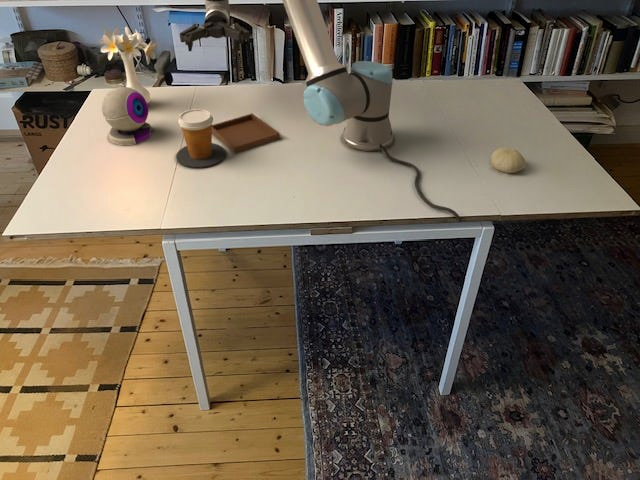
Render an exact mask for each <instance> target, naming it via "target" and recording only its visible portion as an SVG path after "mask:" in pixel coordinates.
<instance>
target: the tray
mask: <svg viewBox="0 0 640 480" xmlns="http://www.w3.org/2000/svg"><path fill="white" fill-rule="evenodd" d="M280 133H281V132H279V131H277V130H276V129H274V127H272V126H270V125H269V124H268V123H266V122H265V121H263V120H262V119H261V118H259V117H258V116H256V115H255V114H254V113H249V114H245V115H242V116H238V117H234V118H231V119H228V120H225V121H221V122H218V123H214V124H212V136H214V137H215V139H217V140H218V141H220V142H221V143H222V144H223V145H224V146H225V147H227V148H228V149H229V150H230V151H232V152H233V153H234V154H237V153H241V152H243V151H247V150H250V149H252V148H253V149H254V148H256V147H258V146H262V145H266V144H268V143H272V142H275V141H278V140H280V139H281V135H280Z"/></svg>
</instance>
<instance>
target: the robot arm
mask: <svg viewBox="0 0 640 480" xmlns="http://www.w3.org/2000/svg"><path fill="white" fill-rule="evenodd" d="M204 3H205V5H204V6H205V17H204V22H203V24H202V25H201V26H199V25H198V24H197V23H193V24H192V25H191V26H190V27H187V28H186V29H184V30H182V31H181V32H179V39H180V43H184V44H185V46H187V49H188V52H192V50H193V47H194V42H195V41H199V40H200V39H207V38H214V39H221V38H226V39H227V38H230V39H232V40H235V42H236V51H240V50H241V44H244V41H250V39H251V38H250V30H248V29H246V28H244V27H243V26H241V25H240V24H239V23H238V22H234V23H233V24H232V25H230V17H231V6H230V1H229V0H204ZM282 3H283V6H284V9H285V12H286V14H287V17H288V20H289V22H290V25H291V28H292V31H293V34H294V37H295V40H296V42H297V45H298V48H299V51H300V53H301V56H302V59H303V62H304V64H305V68H306V71H307V73H308V74H307V77H306V79H305V84H306V88H305V90H304V92H303V105H304V108H305V110H306V112H307V114H308V115H309V117H310V118H311V119H312V120H313V121H314V122H315V123H317V124H319V125H320V126H323V127H330V126H335V125H338V124H342V122H346V125H345V127H344V128H343V131H342V141H343V143H344V144H345V145H346V146H347V147H349V148H351V149H353V150H357V151H362V152H376V151H382V152H383V153H384V155H385V156H386V157H387V158H388V159H389V160H390V161H392V162H395V163H398V164H400V165H404V166H407V167H410V168H412V169H413V170H414V171H415V172H416V173H415V174H416V175H415V178H414V187H415V190H416V192H417V194H418V196H419V197H420V198H421V200H422V201H423V202H424V203H426V204H427V205H428V206H430V208H433V209H435V210H440V211H445V212H448V213H450V214H452V215H453V216H454V217H455V218H456V220H457V221H458V222H462V218H461V217H460V215H459V214H458V213H457V212H456V211H455V210H454V209H452V208H450V207H446V206H441V205H438V204H435V203H432V202H431V201H430V200H428V199H427V197H425V196H424V194H423V192H422V191H421V189H420V186H419V180H420V179H419V178H420V170H419V168H418V167H417V166H416V165H415V164H413V163H411V162H408V161H404V160H400V159H397V158H395V157H393V156H391V155H390V153H389V152H388V150H387V148H389V147H390V146H391V145H392V144H393V142H394V141H393V140H394V132H393V129H392V125H391V124H392V123H391V120H390V109H391V100H392V99H391V98H392V89H393V83H394V82H393V71H392V69H391V67H389V66H388V65H386V64H383V63H380V62H378V61H376V62H375V61H371V60H370V61H369V60H359V61H355V62H353V63H352V64H351V68H350V70H351V71H350V73H349V72H348V69H347V67H346V65H344V64H342V63H340V62H339V60H338V57H337V54H336V52H335V48H334V46H333V43H332V40H331V37H330V34H329V31H328V27H327V26H326V22H325V19H324V16H323V14H322V11H321V8H320V4H319V2H318V0H282Z"/></svg>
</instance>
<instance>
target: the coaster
mask: <svg viewBox="0 0 640 480" xmlns="http://www.w3.org/2000/svg"><path fill="white" fill-rule="evenodd" d="M175 158H176V162H177V163H178V164H179V165H181V166H182V167H184V168H189V169H206V168H210V167H214V166H217V165H219V164H220V163H221V162H222V161H224V159H225V158H226V150H225V148H224V147H223V146H221V145H219V144H217V143H214V142H212V154H211V156H209V157H208V158H205V159H193V158H191V157H190V154H189V151H188V148H187V145H185V146H183V147H182V148H181V149H179V150H178V151H177V153H176V157H175Z"/></svg>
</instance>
